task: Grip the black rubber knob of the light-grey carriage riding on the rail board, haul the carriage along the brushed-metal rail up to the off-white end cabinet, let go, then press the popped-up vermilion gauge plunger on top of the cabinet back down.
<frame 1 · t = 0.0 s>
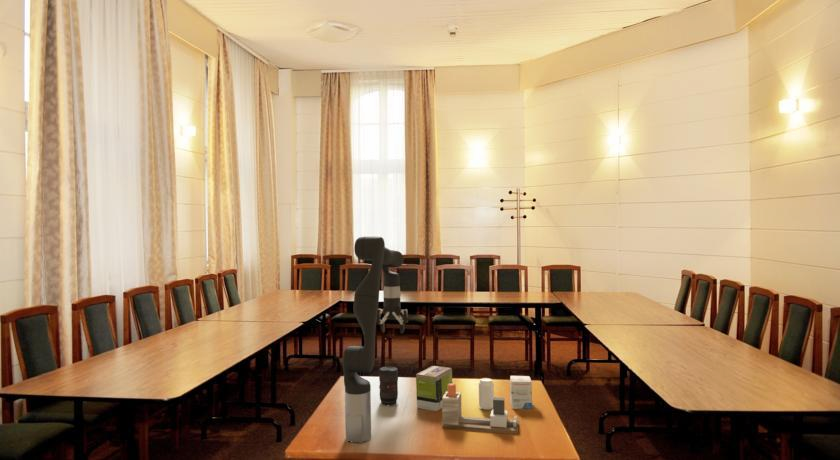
hand: (392, 332, 233), 29 cm above the table, fingers open, 8 cm apart
carriage: (498, 411, 197), point 6 cm above the table, slide at -7.0 cm
ink box: (521, 406, 221), on the table
gauge plunger: (451, 397, 201), point 10 cm above the table, slide at 0.0 cm
tea box: (435, 405, 223), on the table
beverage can: (486, 408, 218), on the table
camera lens: (389, 403, 226), on the table
rail board: (480, 426, 199), on the table
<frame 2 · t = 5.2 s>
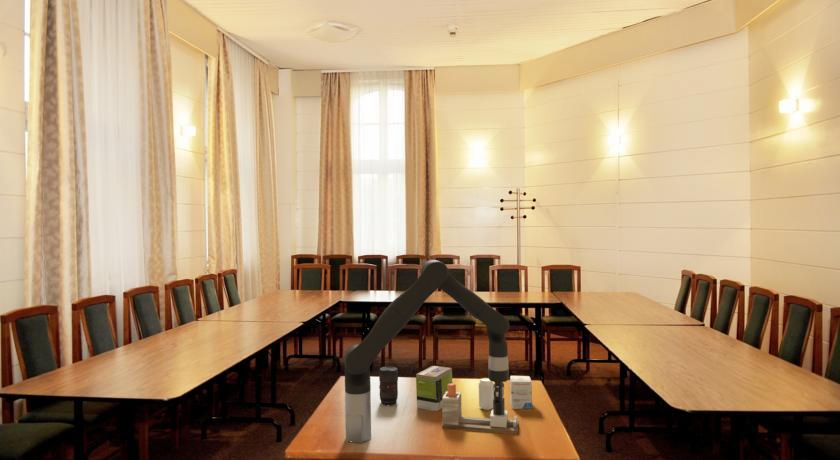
hand: (498, 412, 197), 6 cm above the table, fingers closed on carriage, 3 cm apart
carriage: (498, 411, 197), point 6 cm above the table, slide at -7.0 cm, touching gripper
everything else where it was.
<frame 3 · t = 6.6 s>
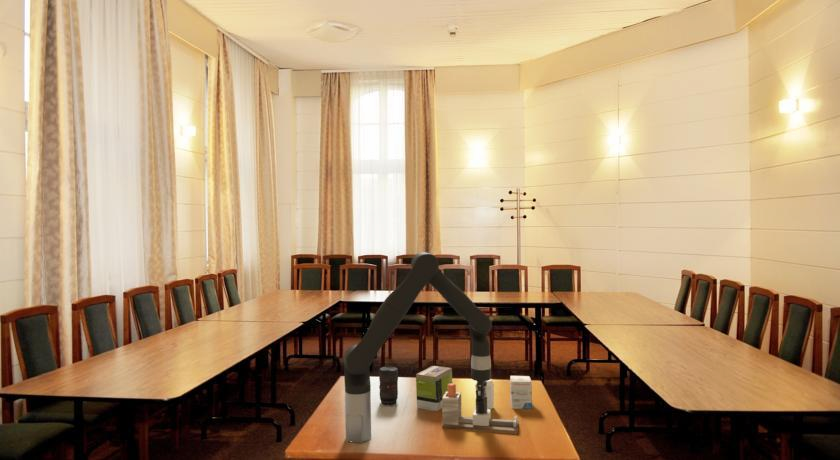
hand: (481, 411, 199), 6 cm above the table, fingers closed on carriage, 3 cm apart
carriage: (481, 409, 199), point 6 cm above the table, slide at -0.4 cm, touching gripper
everything else where it was.
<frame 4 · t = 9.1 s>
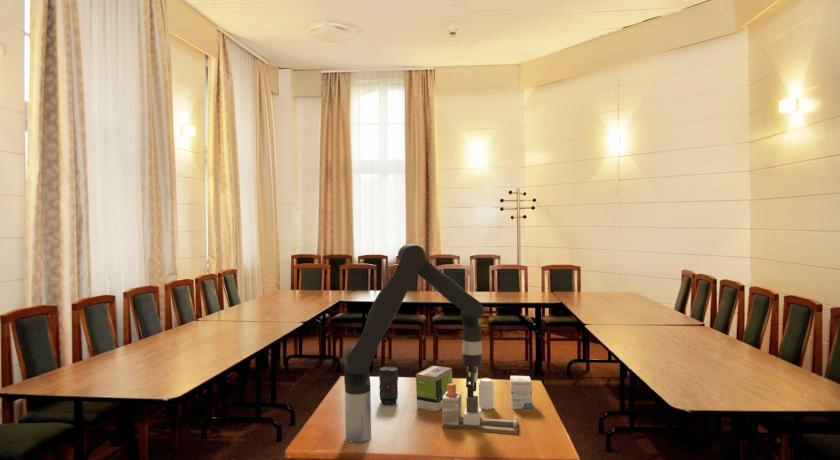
hand: (471, 394, 199), 12 cm above the table, fingers open, 8 cm apart
carriage: (472, 409, 199), point 6 cm above the table, slide at 3.1 cm
everything else where it was.
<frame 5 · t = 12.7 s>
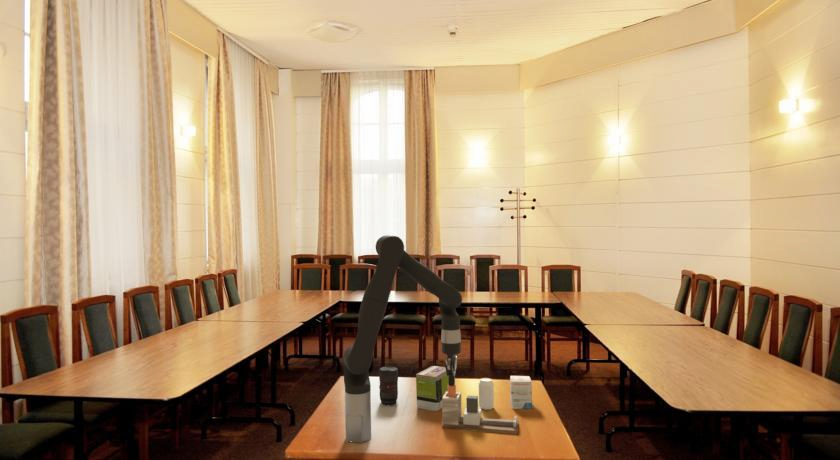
hand: (451, 385, 201), 15 cm above the table, fingers closed
gauge plunger: (451, 398, 201), point 10 cm above the table, slide at -0.2 cm, touching gripper
everything else where it was.
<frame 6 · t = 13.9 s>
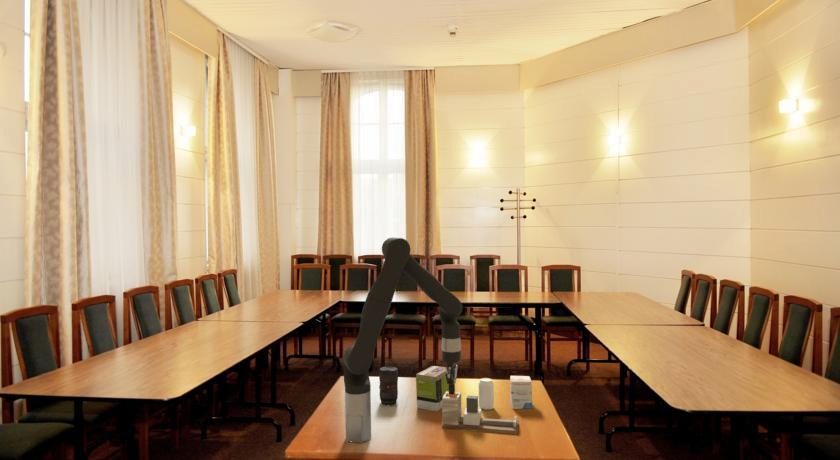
hand: (451, 393, 201), 12 cm above the table, fingers closed
gauge plunger: (452, 406, 201), point 7 cm above the table, slide at -3.5 cm, touching gripper
everything else where it was.
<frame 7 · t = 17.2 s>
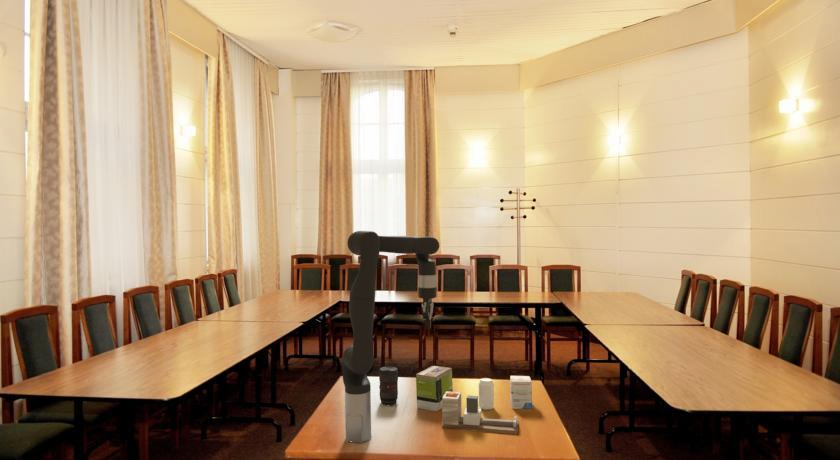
hand: (427, 328, 211), 35 cm above the table, fingers closed
gauge plunger: (452, 406, 201), point 7 cm above the table, slide at -3.5 cm
everything else where it was.
at the end: carriage slide at 3.1 cm; gauge plunger slide at -3.5 cm; the gripper is holding nothing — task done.
